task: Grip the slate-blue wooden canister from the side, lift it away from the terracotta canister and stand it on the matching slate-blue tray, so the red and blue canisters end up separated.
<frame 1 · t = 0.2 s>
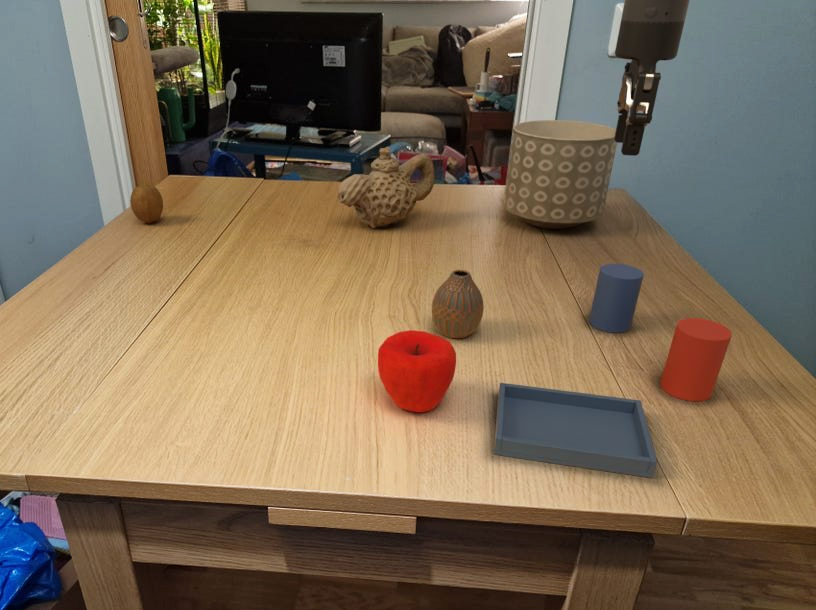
hand: (625, 148, 92), 22 cm above the table, tool pointing down, fingers open, 8 cm apart
fruit: (149, 223, 133), on the table
blue canister: (609, 323, 94), on the table
planter: (549, 223, 133), on the table
vase: (454, 333, 92), on the table
apple: (413, 403, 76), on the table
blue tray: (568, 434, 71), on the table
teapot: (385, 225, 132), on the table
red canister: (685, 388, 79), on the table
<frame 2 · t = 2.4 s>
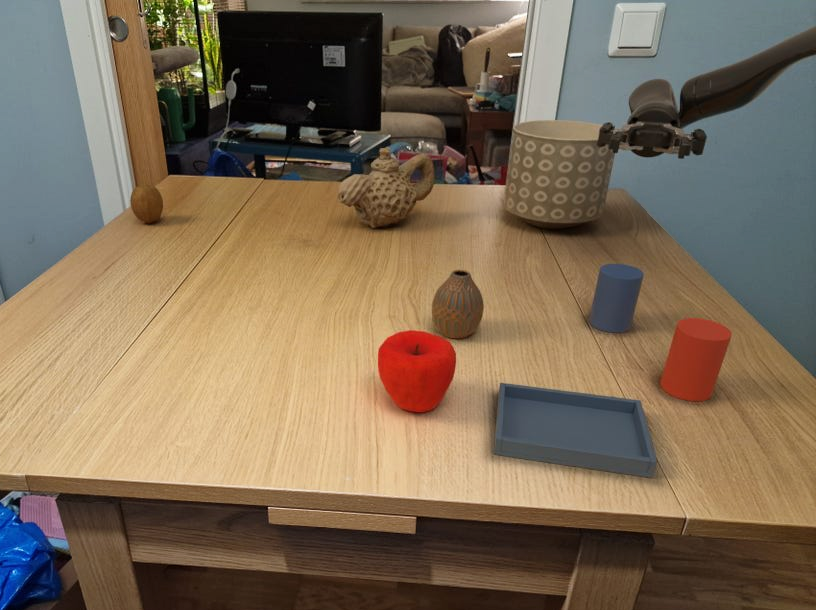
hand: (648, 148, 92), 22 cm above the table, tool horizontal, fingers open, 8 cm apart
nothing on the table moved.
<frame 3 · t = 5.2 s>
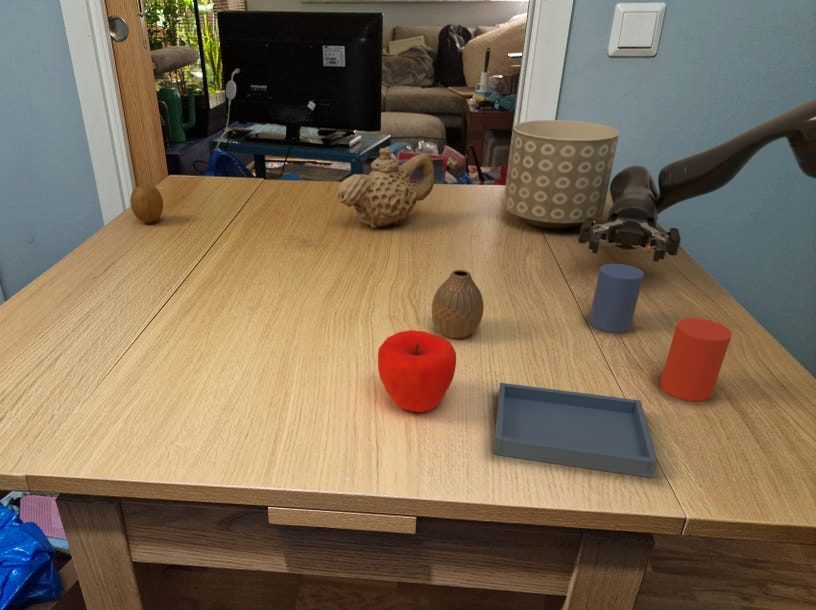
hand: (625, 251, 98), 8 cm above the table, tool horizontal, fingers open, 8 cm apart
nothing on the table moved.
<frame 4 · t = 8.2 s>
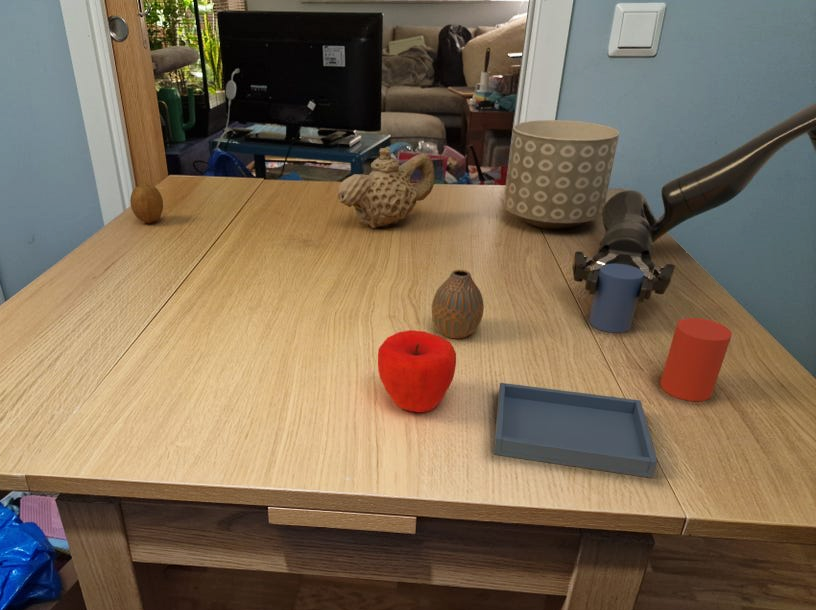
hand: (617, 291, 89), 6 cm above the table, tool horizontal, fingers closed on blue canister, 5 cm apart
blue canister: (609, 323, 94), on the table, touching gripper
everything else where it was.
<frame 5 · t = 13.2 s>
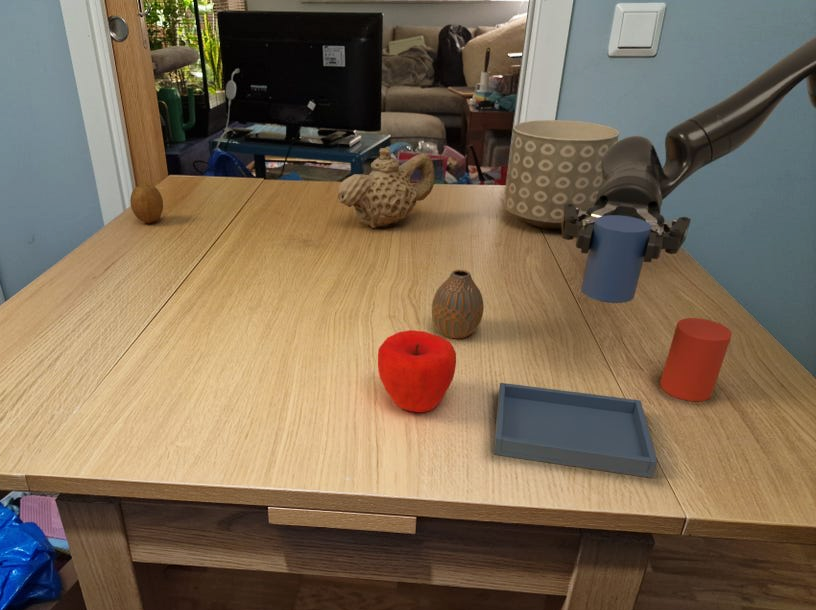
hand: (616, 248, 69), 18 cm above the table, tool horizontal, fingers closed on blue canister, 5 cm apart
blue canister: (607, 292, 74), point 12 cm above the table, touching gripper
everything else where it was.
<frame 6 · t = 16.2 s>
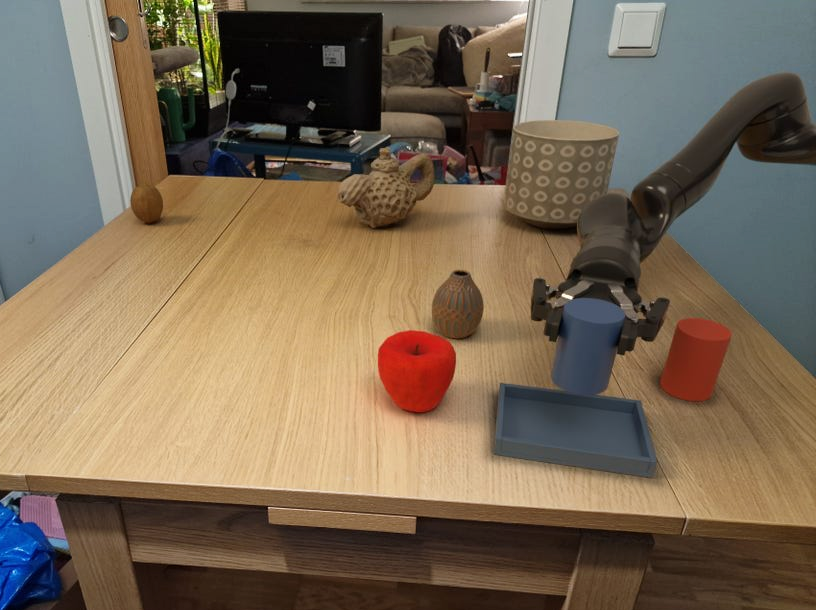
hand: (587, 339, 63), 13 cm above the table, tool horizontal, fingers closed on blue canister, 5 cm apart
blue canister: (578, 380, 68), point 7 cm above the table, touching gripper
everything else where it was.
when the fingers open (7 cm above the table, at t = 18.4 s): blue canister stays where it is, resting on blue tray.
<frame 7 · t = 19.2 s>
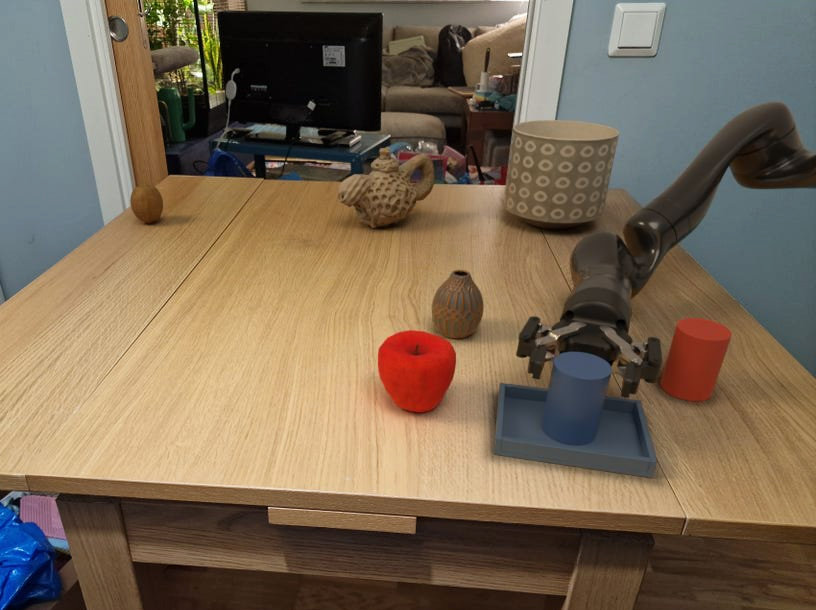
hand: (580, 380, 66), 8 cm above the table, tool horizontal, fingers open, 8 cm apart
blue canister: (568, 429, 71), resting on blue tray
everything else where it was.
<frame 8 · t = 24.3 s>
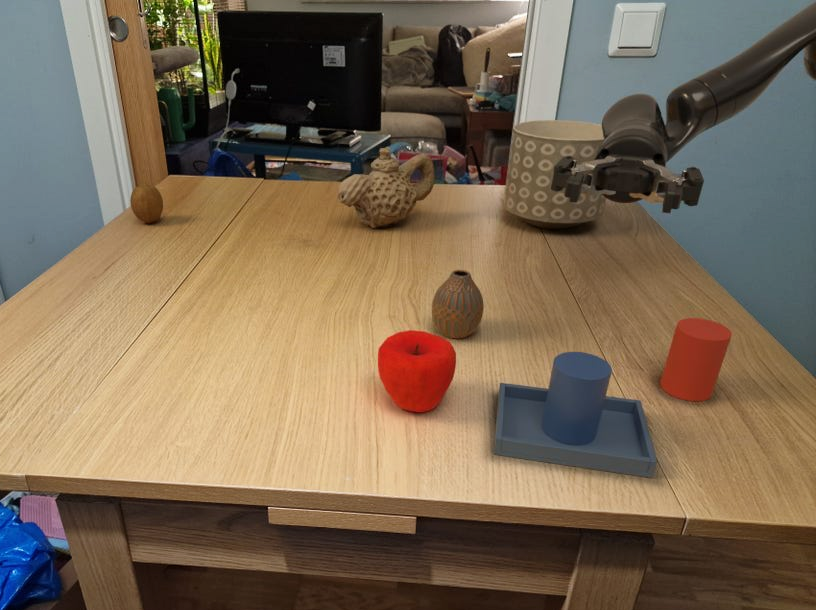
hand: (620, 197, 64), 24 cm above the table, tool horizontal, fingers open, 8 cm apart
nothing on the table moved.
at the end: blue canister inside the target area in the blue tray (0.1 cm from its centre), point 0.5 cm above the blue tray's base; blue canister tilted 0°; red canister moved 0.0 cm from its start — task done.
